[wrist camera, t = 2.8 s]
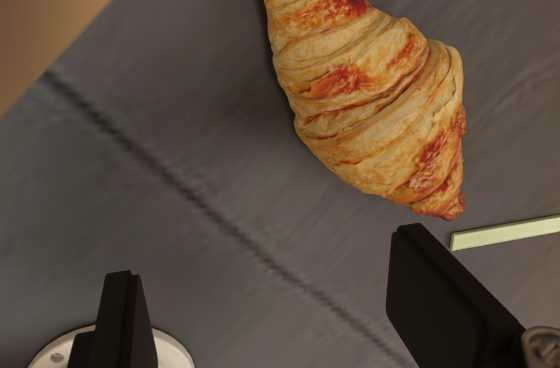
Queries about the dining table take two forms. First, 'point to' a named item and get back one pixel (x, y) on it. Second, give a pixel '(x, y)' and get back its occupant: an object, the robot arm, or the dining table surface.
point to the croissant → (373, 100)
